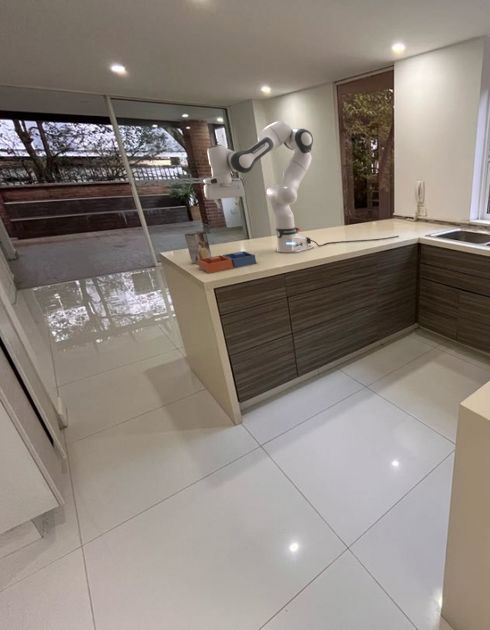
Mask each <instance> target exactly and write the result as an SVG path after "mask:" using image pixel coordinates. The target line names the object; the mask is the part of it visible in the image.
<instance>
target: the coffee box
mask: <svg viewBox="0 0 490 630" xmlns="http://www.w3.org/2000/svg"><path fill="white" fill-rule="evenodd" d="M184 237H185V242H186V245H187V250H188V254H189V258H190V261H191V263H192V264H196V265H197V264H198V259H203V258H209V257H212V253H211V249H210V244H209V240H208V235H207V232H206V231H202V230H201V231H199V230H198V231H197V230H196V231H192V232H188V233H184ZM198 265H199V264H198Z"/></svg>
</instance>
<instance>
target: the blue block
mask: <svg viewBox="0 0 490 630" xmlns="http://www.w3.org/2000/svg"><path fill="white" fill-rule="evenodd" d="M231 253H232V258H233V259H236V258H241V257H245V253H242V251H236V252H231Z"/></svg>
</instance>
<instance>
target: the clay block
mask: <svg viewBox="0 0 490 630" xmlns="http://www.w3.org/2000/svg"><path fill="white" fill-rule="evenodd" d="M218 256H219V255H216V256H211V257H209V258H207V259H208V264H210V263H215V262H221V258H220V257H218Z"/></svg>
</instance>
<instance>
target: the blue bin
mask: <svg viewBox="0 0 490 630" xmlns="http://www.w3.org/2000/svg"><path fill="white" fill-rule="evenodd" d="M241 252H242V253H245V257H241V258H236V259H233V258H232V253H233V252H231V253H225V254H222V255H221V256H224V257H226V258H229V259H231V260H232V264H233V269H235V268H240V267H245V266H249V265H254V264H257V259H256V255H255V254H254V253H250V252H247V251H244V250H243V251H241Z"/></svg>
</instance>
